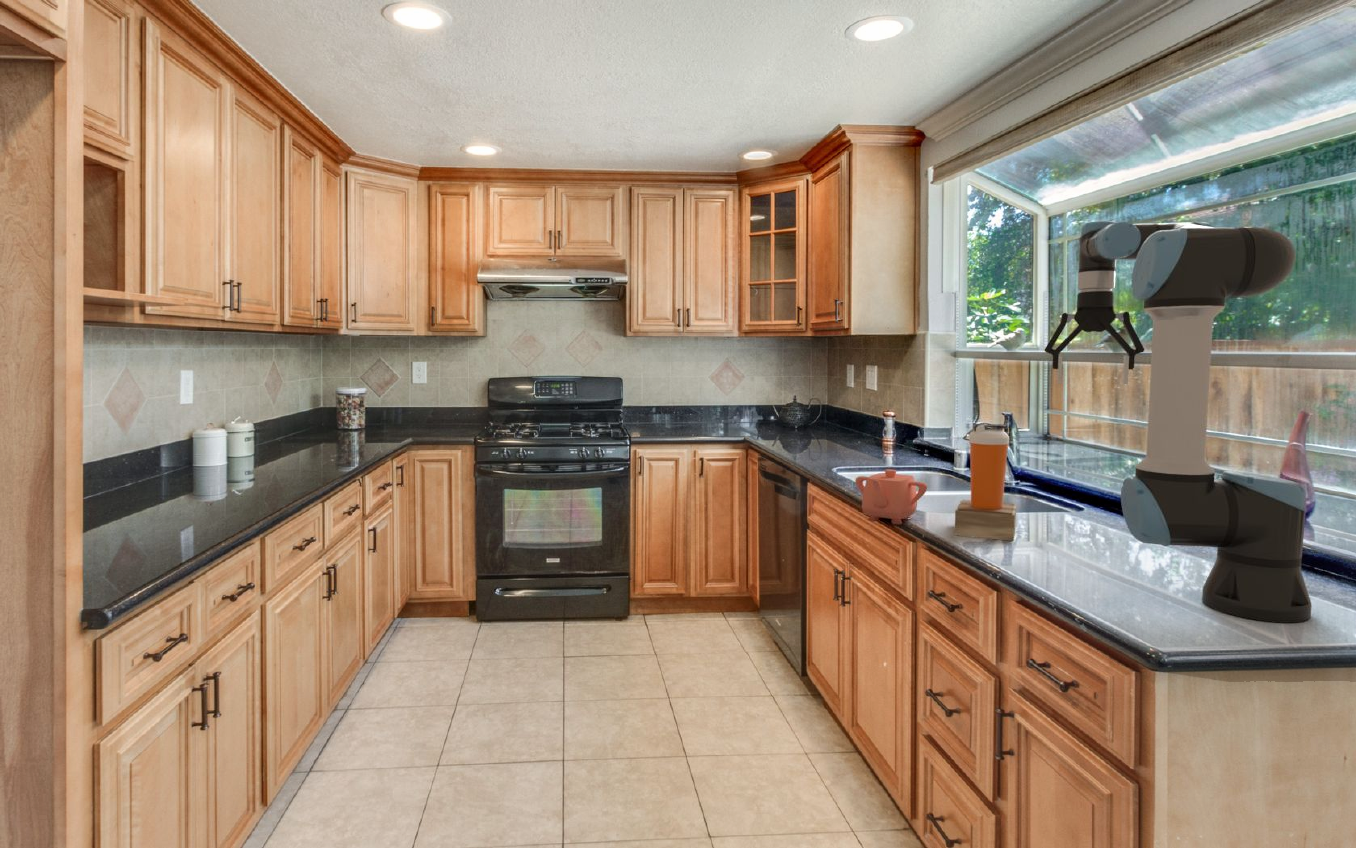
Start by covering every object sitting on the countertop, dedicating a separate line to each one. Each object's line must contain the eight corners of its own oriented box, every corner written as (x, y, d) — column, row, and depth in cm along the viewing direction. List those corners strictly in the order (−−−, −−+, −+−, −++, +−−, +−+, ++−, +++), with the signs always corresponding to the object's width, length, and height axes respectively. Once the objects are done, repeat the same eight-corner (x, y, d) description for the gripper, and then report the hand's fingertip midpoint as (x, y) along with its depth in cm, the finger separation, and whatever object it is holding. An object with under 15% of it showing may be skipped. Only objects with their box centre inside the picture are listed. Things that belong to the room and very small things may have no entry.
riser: (1013, 540, 182) (1014, 513, 181) (954, 535, 187) (955, 509, 187) (1015, 529, 194) (1016, 503, 193) (959, 524, 199) (960, 499, 198)
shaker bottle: (1012, 510, 185) (1016, 426, 183) (974, 510, 185) (977, 426, 183) (997, 503, 194) (1001, 422, 192) (961, 503, 194) (964, 422, 192)
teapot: (902, 512, 214) (903, 464, 213) (932, 524, 199) (933, 473, 197) (845, 515, 211) (846, 466, 209) (871, 528, 195) (872, 476, 194)
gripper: (1156, 290, 178) (1151, 383, 180) (1035, 294, 188) (1032, 382, 190) (1161, 288, 171) (1156, 385, 173) (1036, 291, 181) (1032, 383, 183)
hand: (1091, 383), depth 181 cm, fingers open, 13 cm apart
